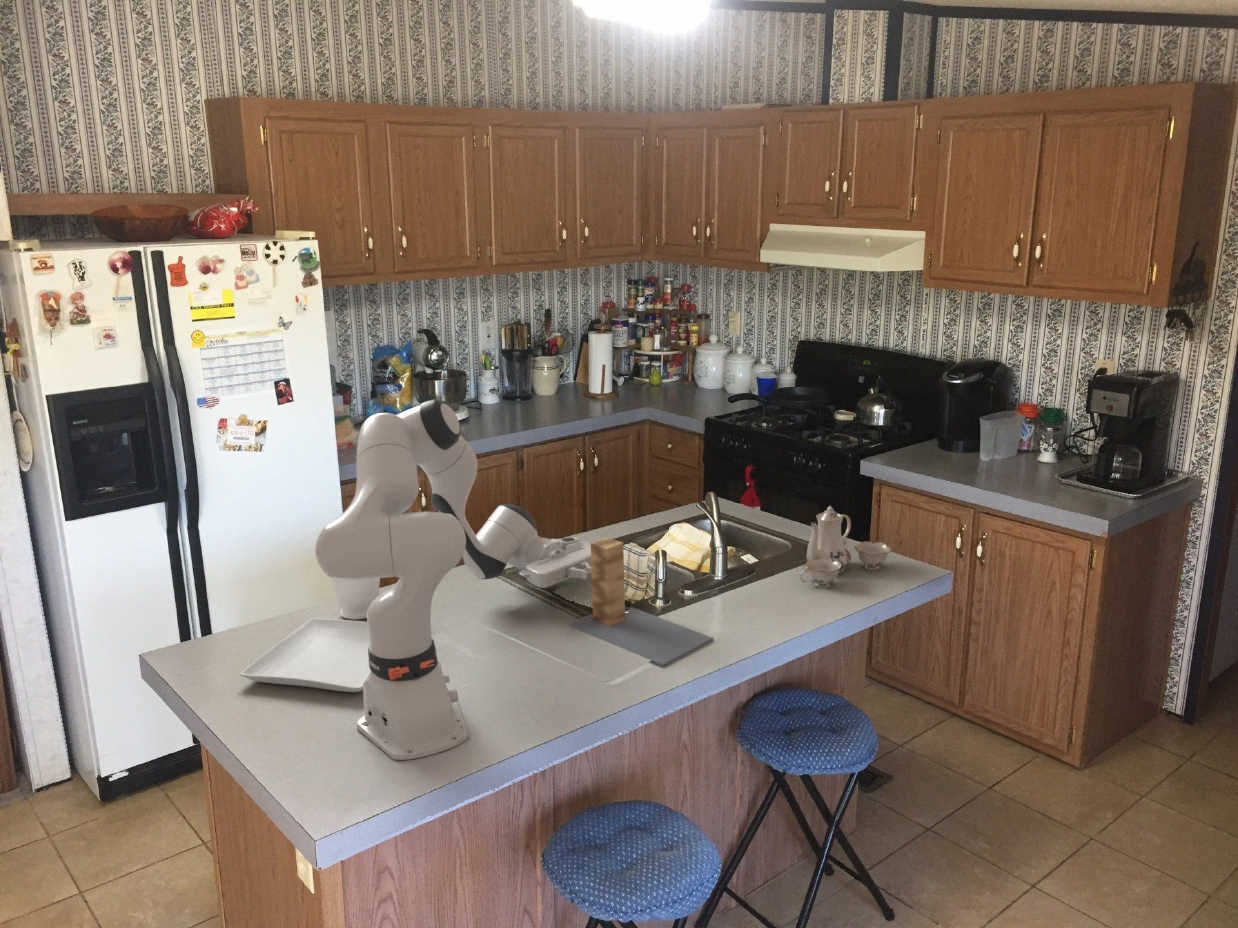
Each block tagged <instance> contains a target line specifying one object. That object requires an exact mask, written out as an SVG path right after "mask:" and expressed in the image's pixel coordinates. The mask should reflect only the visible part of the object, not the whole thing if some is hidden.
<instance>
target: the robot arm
mask: <svg viewBox="0 0 1238 928" xmlns="http://www.w3.org/2000/svg"><path fill="white" fill-rule="evenodd" d="M461 432H462V429H461V423H460V421H459V418H458V416H457V414H456V413H455V411H454V409H453V408H452V407H451V406H450V405H449V404H448V403H447V402H445V401H443V400H440V399H431V400H427V401H423V402H422V403H421V404H420V405H417V406H414V407H412V408H409V409H407V410H404V411H403V412H399V413H398V414H394V413H390V412H379V413H375V414H372V415H371V416H369V417H368V418H366V420H364V422H363V423H362V424H361V426H360V430H359V434H358V439H357V440H356V445H355V448H354V449H355V456H356V459H355V460H356V484H355V485H356V486H355V492H354V493H355V494H354V497H353V499H352V501H351V502H350V504H349V506H348V507H347V508H346V509H345V510H344V511H343V513H341V514H340V515H339V516H338V517H337V518H335V519H334V520H333V521H331V522H330V523H328V524H326V525H324V527H323V529H321V531H320V533H319V534H318V536H317V539H316V543H315V557H316V560H317V564H318V566H319V568H320V569H321V571H323V573H324V574H325V575H327V577H329V578H331V579H332V578H334V579H343V580H366V579H376V578H380V579H383V578H384V579H385V578H394V577H395V578H398V581H396V583H395V584H394V585H393V586H392V587H390V588H389V589H387V590H385V591H383V592H382V593H379V596H377V597H376V598H375V599H374V600H373V601H372V603H371V604H370V606H369V608H368V611H367V618H366V622H367V624H368V634H369V643H370V646H369V648H368V662H369V668H370V673H369V675H368V677H367V678H366V680H365V681H364V683H363V690H362V692H363V693H362V695H363V714H364V715H363V716H362V717H360V718H359V719H358V720H357V721H356V729H357V730H358V731H359V732H360V733H362V734H363V735H364V736H365V737H366V738H368V739H369V740H370V741H371V742H372V743H374V744H375V745H376V746H377V747H378V748H379V749H381V750H382V751H383V752H384V753H386V755H388V757H390V758H391V759H393V760H395V761H396V760H397V761H399V760H400V761H402V760H412V759H418V758H423V757H428V756H431V755H435V754H437V753H440V752H441V753H442V752H444V751H446V750H449V749H451V748H455V747H457V746H458V745H461V744H462V743H464V742H465V741H467V739H468V738H469V732H468V728H467V726H466V723H465V720H464V717H463V715H462V712H461V709H460V706H459V694H458V689H456V688H455V689H448V685H447V683H450V677H449V674H445V675H444V672H443V669H442V662H441V661H438V656H437V647H436V646H435V640H434V639H433V637H432V625H431V622H432V621H431V619H432V617H431V614H432V610H431V609H432V603H433V597H434V595H435V592H436V589H437V588H438V586H439V584H440V583H441V581H442V580H443V578H444V577H445V576H446V575H447V574H448V573H449V572H450V571H451V570H453V568H456V566H457V565H458V564H459V563H460V561H461V560H462V562H463V564H464V565H465V567H466V568H467V570H468V571H469V572H470V573H471V574H472V575H474V576H475V577H477V578H479V579H480V580H491V579H495V578H499V577H501V575H502V573H503V571H504V570H505V569H506V567H507V564H509V565H510V566H513V567H515V568H517V569H519V571H518V575H519V576H520V577H523V578H526V581H527V582H528V583H530V584H532V585H533V586H535V587H537V588H540V589H541V588H542V589H546V588H548V587H552V586H554V585H558V584H559V583H562V582H564V581H566V580H569V579H583V580H588V579H589V578H592V572H591V543H592V542H591V543H590V542H587V541H580V539H579V538H578V537H575V536H571V537H565V538H564V537H563V538H551V539H550V538H548V537H547V538H546V537H541V536H539V535H538V534H539V532H538V527H537V523H536V520H535V518H534V517H533V516H532V514H530V512H528V511H527V510H526V509H525V508H523V507H521V506H518V505H516V504H511V503H503V504H500V505H498V506H497V507H496V508H495V510H494V511H493V512H492V513H491V515H490V516H489V517H488V519H487V520H486V522H485V523H484V524H483V525H482V527H481V528H480V529H479V531H478V532H477V533H476V534H475V532H474V530H473V529H472V527H471V526H470V524H469V522H468V520H467V518H466V514H465V513H466V507H467V506H466V504H467V501H468V499H469V495H470V492H471V490H472V488H473V485H474V484H475V482H476V481H475V480H476V478H477V475H478V463H479V462H478V458H477V456H476V453H475V452H474V450H473V448H472V447H471V446H470V444H469V442H467V441H466V439H465V438H464V437H463V436H462V435H461V434H462V433H461ZM417 466H419V467H420V469H422V471H424V473H425V474H426V476H427V477H428V480H429V484H430V487H431V493H432V495H431V500H430V501H431V505H432V506H433V509H434V511H417V512H416V511H415V512H406V511H408V510H409V509H410V508H411V507H412V505H413V504H414V502H415V501H416V499H417V497H418V495H419V478H418V477H419V476H418V467H417Z"/></svg>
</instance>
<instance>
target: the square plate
mask: <svg viewBox="0 0 1238 928" xmlns="http://www.w3.org/2000/svg"><path fill="white" fill-rule="evenodd" d="M369 646H370V643H369V634H368V624H367V621H363V620H352V619H337V618H335V619H334V618H319V617H313V618H310V619H309V620H307V621H306V622H305V623H304V624H302V625H300V626H299V627H298V628H296V629H295V630H294V631H292V632H290V634H288V635H287V636H286V637H285V638H283V639H282V640H280V641H279V642H278V643H277V644H275V645H274V646H272V647H270V649H268V650H267V651H266V652H264V653H263V654H262V655H261V656H260V657H258V658H257V659H256V660H255V661H253V662H251V664H249V665H248V666H247V667H245V668H244V669H243V670H242V671H240V673H239V676H241V677H243V678H246V679H248V680H250V681H254V682H260V683H267V684H276V685H288V686H297V687H298V686H299V687H300V686H301V687H306V688H315V689H322V690H329V691H330V690H331V691H337V692H346V693H358V692H361V691H363V683H364V681H365V680H366V678H367V677H368V675H369V673H370V668H369V662H368V648H369Z"/></svg>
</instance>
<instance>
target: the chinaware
mask: <svg viewBox="0 0 1238 928" xmlns="http://www.w3.org/2000/svg"><path fill="white" fill-rule="evenodd" d="M815 517H816V520H817V523H816V522H814V521H813V522H810V525H811V528H812V530H811V534H810V539H809V543H808V545H807V550H806V555H805V560H806V562H805V564H804V569H802V571H801V572H800V575H799V577H800V580H801V581H802V582H803V583H808V582H810V584H811V585H815V587H817V588H819V589H820V588H821V589H827V588H830V587H831V586H832V585H830V584H831V583H833V582H834V581H835V580H836V578H837V577H838V575H840V574H842V573H844V572H845V571H846V566H847V565H848V564H849V562H850V561H851V559H852V556H851V554H850V552H849V550H848V549H847V548H848V547H846V544H847V542H848V540H847V539H846V537H848V535H849V533H850V531H851V529H852V521H851V518H850V517H849V515H847V514H840V513H838V512H837V511H835V510H834V508H833V507H832V506H831V505H829V506H828V507H827V508H826V510H824V511H823V512H822V513H821V512H820V513H818V514H816V516H815ZM844 518H846V522H847V523H846V525H847V526H846V530H845V533H844V534H843V535H842V522H843V519H844ZM854 549H855V550H856V552H857V554H858V558H859V559H860V562H861V563H862V564H864V565H865V569H866V570H868V571H869V570H870V571H877V570H878V571H879V569H880V566H881V565H883V564H884V563H885V561H886V560H887V558H888V555H889V553H891V551H892V547H890V546H888V545H887V544H886V543H884V542H883V541H882V542H877V541H876V542H874V543H873V542H871V541H866V540H865V541H862V542H860V543H859V544H856V545H855V546H854ZM804 572H805V573H808V575H809V578H810V579H807V580H804V579H803V578H802V575H803V573H804Z"/></svg>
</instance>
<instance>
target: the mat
mask: <svg viewBox="0 0 1238 928" xmlns="http://www.w3.org/2000/svg"><path fill="white" fill-rule="evenodd" d="M630 607H631V608H630V613H625V619H624V620H622V621H620V622H617V623H615V624H613V625H611V626H607V625H605V624H602V623H600V622H597V621H595V620H593V612H592V613H590V614H588V615H586V616H583V617H581V618H579V619H577V620H574V621H572V622H570V623H568V624H567V626H569V627H572V628H574V629H576V630H578V631H581V632H583V633H585V634H588V635H590V636H592V637H595V638H597V639H599V640H603V641H604V642H607V643H609V644H612V645H614V646H617V647H619V648H621V649H623V650H625V651H629V652H631V653H633V654H635V655H637V656H640V657H642V658H645V659H648V660H649V661H648V662H649V663H651V664H654V665H657V666H659V668H664V667H665V666H668V665H669V664H671V663H673V662H675V661H677V660H679V659H681V658H683V657H685V656H687V655H688V654H691V653H692V652H694V651H695V650H696V651H697V650H698V649H700V648H701V647H703V646H705V645H707V644H709V643H711V642H713V641H714V638H713V637H711V636H709V635H708V634H707V635H706V634H703V633H701V632H698V631H696V630H693V629H690V628H688V627H685V626H684V625H683V626H682V625H680V624H678V623H675V622H672V621H670V620H666V619H664V618H662V617H660V616H659V617H658V616H657V615H654V614H651V613H649V612H645V611H642V609H641V610H640V609H637V608H635V607H633V606H630Z"/></svg>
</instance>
